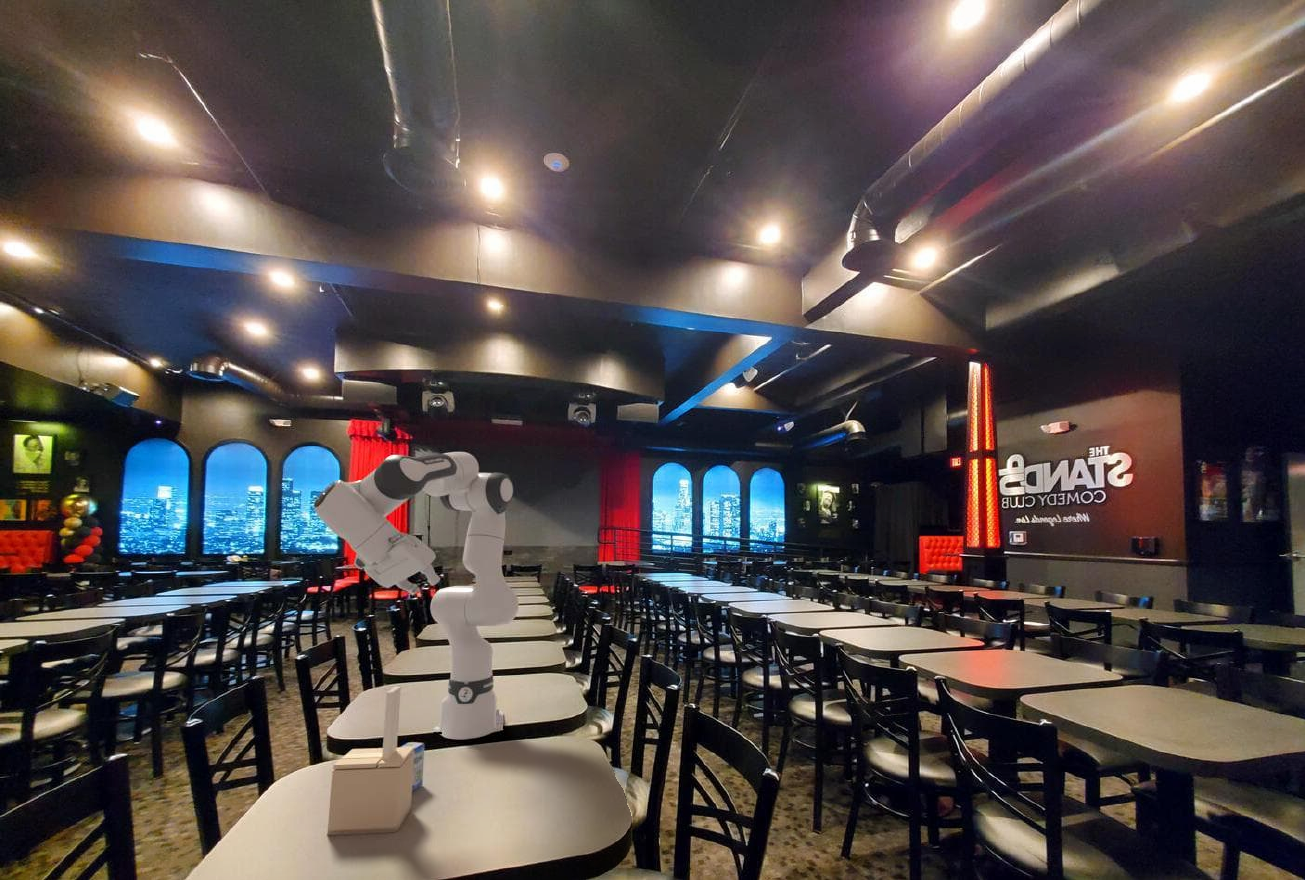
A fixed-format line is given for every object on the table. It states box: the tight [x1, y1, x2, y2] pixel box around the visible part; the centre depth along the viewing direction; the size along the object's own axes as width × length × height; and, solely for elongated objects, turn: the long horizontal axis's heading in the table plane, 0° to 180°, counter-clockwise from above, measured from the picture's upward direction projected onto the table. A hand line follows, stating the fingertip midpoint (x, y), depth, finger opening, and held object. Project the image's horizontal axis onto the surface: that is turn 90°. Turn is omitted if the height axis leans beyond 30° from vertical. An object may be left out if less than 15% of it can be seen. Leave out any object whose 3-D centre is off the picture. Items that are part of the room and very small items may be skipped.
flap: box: [378, 686, 414, 767], centre depth 107 cm, size 8×4×13 cm, turn 4°
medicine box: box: [400, 741, 425, 793], centre depth 117 cm, size 8×4×9 cm, turn 168°
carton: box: [326, 747, 414, 836], centre depth 105 cm, size 8×12×12 cm, turn 95°
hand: (426, 587), depth 122 cm, fingers open, 8 cm apart
